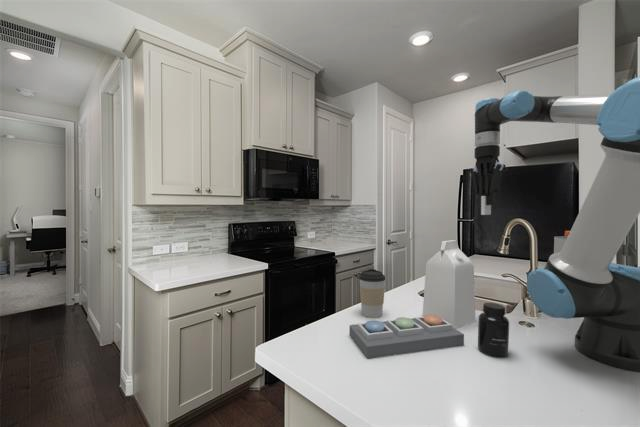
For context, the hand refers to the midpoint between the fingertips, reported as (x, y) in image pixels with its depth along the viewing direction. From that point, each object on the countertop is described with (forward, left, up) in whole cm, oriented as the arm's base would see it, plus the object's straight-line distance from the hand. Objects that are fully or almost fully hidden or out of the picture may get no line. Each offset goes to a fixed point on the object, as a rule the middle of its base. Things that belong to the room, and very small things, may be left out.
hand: (485, 214), depth 100 cm
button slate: (-12, +47, -31) cm, 57 cm away
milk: (-2, +16, -35) cm, 38 cm away
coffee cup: (+8, +39, -35) cm, 53 cm away
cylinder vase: (-1, -40, -35) cm, 53 cm away
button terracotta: (-12, +29, -31) cm, 44 cm away
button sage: (-12, +38, -31) cm, 50 cm away
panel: (-12, +38, -34) cm, 52 cm away
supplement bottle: (-23, +19, -35) cm, 45 cm away
